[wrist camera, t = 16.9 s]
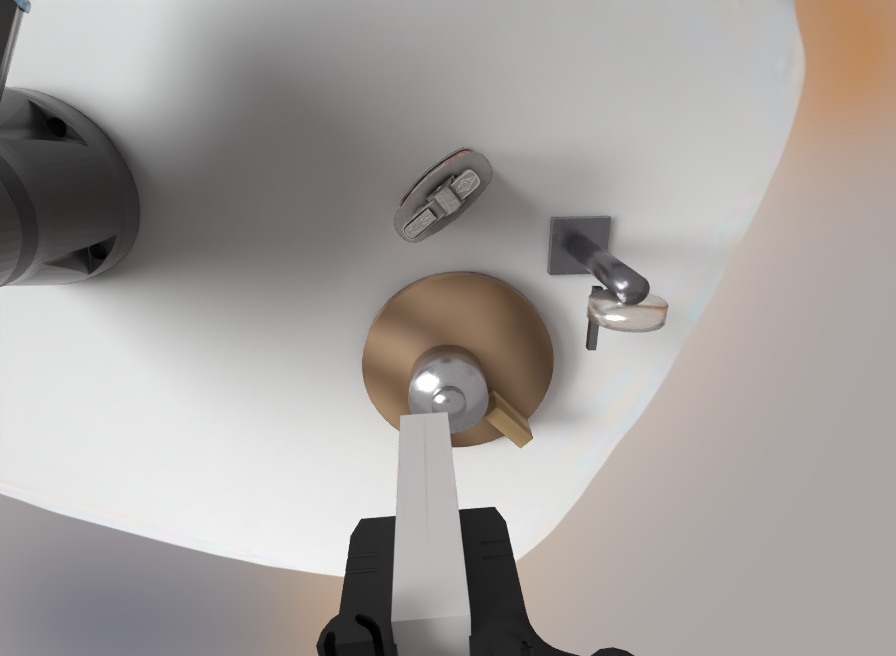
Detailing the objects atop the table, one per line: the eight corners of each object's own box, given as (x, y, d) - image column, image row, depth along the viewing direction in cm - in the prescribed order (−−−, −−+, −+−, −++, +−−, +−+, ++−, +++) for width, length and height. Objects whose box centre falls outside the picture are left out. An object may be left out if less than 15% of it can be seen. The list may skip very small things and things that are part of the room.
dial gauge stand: (545, 307, 44) (594, 385, 31) (551, 217, 40) (609, 261, 27) (597, 305, 44) (669, 382, 31) (607, 215, 41) (693, 258, 27)
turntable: (456, 463, 50) (458, 497, 46) (326, 362, 45) (314, 388, 40) (585, 358, 46) (602, 383, 41) (458, 230, 40) (462, 243, 36)
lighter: (464, 137, 38) (475, 140, 28) (489, 170, 39) (508, 184, 30) (391, 201, 40) (379, 224, 30) (417, 232, 41) (413, 262, 31)
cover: (445, 421, 46) (447, 454, 41) (394, 377, 44) (390, 406, 39) (498, 378, 44) (506, 407, 39) (448, 330, 42) (450, 355, 37)
